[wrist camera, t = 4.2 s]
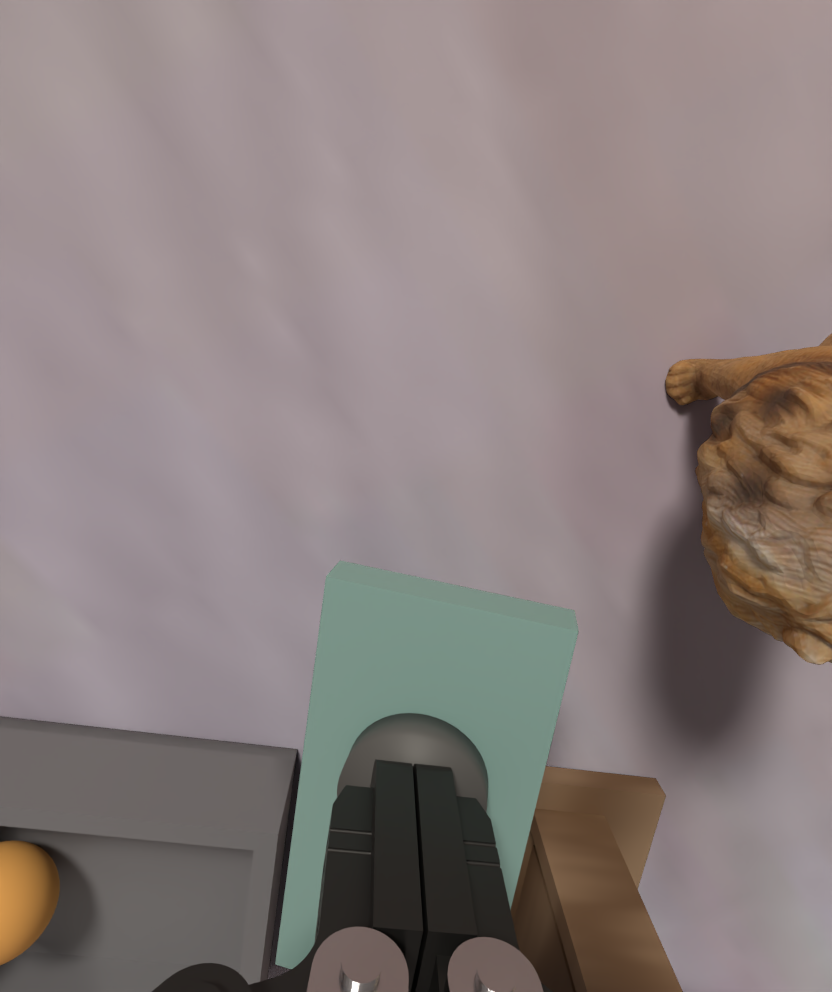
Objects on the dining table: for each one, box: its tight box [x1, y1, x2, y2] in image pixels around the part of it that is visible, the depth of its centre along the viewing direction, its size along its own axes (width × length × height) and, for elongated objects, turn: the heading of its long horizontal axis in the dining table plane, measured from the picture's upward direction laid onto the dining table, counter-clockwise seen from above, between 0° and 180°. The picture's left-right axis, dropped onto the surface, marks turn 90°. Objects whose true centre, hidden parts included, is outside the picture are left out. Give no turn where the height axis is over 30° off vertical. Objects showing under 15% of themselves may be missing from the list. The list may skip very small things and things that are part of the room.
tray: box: [0, 717, 297, 992], centre depth 18 cm, size 10×9×5 cm
